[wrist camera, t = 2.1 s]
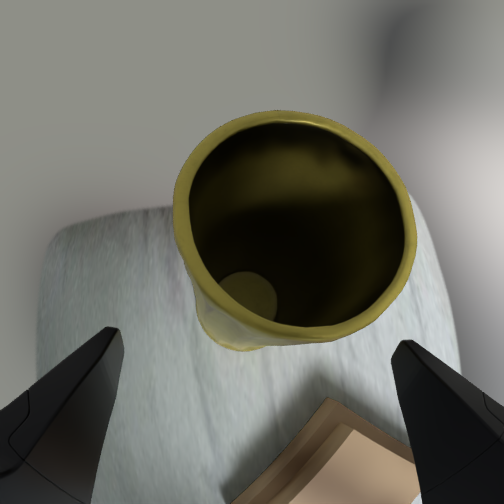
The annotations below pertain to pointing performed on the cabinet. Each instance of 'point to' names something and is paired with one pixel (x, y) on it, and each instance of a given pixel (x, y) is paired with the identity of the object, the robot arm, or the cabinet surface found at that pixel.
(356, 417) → the pedestal
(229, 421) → the cabinet surface
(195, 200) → the vase
